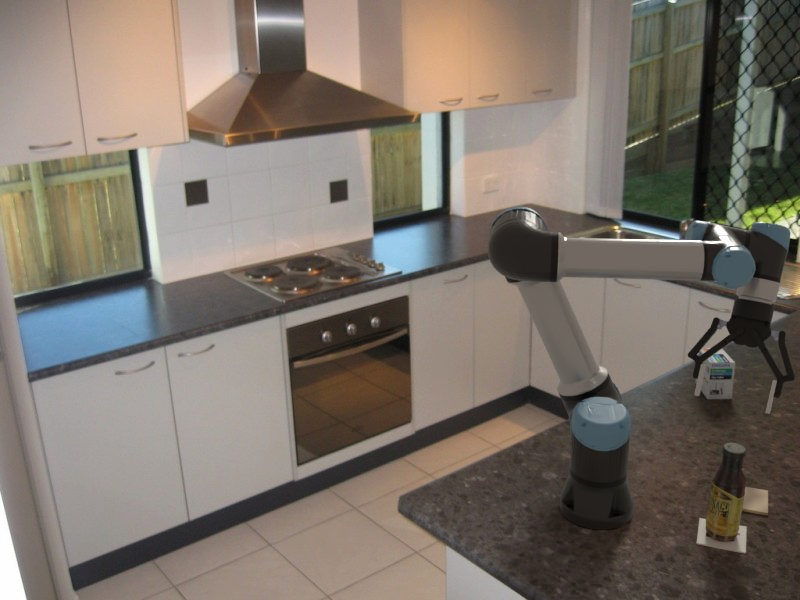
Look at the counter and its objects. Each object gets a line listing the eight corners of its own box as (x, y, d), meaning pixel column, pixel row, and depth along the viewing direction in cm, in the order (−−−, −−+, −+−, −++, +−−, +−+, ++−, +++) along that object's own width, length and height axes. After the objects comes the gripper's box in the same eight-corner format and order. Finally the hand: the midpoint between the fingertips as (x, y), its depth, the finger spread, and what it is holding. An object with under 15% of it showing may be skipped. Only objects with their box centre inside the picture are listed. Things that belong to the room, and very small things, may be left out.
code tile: (696, 544, 166) (696, 542, 166) (699, 519, 174) (699, 517, 174) (745, 553, 163) (745, 552, 163) (746, 527, 171) (746, 526, 171)
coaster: (721, 507, 178) (721, 504, 178) (723, 485, 186) (723, 483, 186) (767, 515, 175) (768, 513, 175) (767, 492, 183) (767, 490, 182)
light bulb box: (732, 399, 225) (736, 362, 221) (706, 400, 225) (710, 363, 221) (718, 382, 235) (722, 346, 231) (694, 383, 235) (697, 347, 231)
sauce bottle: (698, 529, 170) (707, 442, 164) (722, 521, 173) (732, 435, 166) (721, 547, 165) (732, 457, 158) (746, 539, 167) (757, 450, 160)
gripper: (823, 314, 167) (799, 419, 168) (693, 289, 178) (671, 387, 179) (823, 313, 160) (798, 422, 161) (688, 287, 171) (665, 389, 172)
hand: (731, 404), depth 170 cm, fingers open, 13 cm apart
